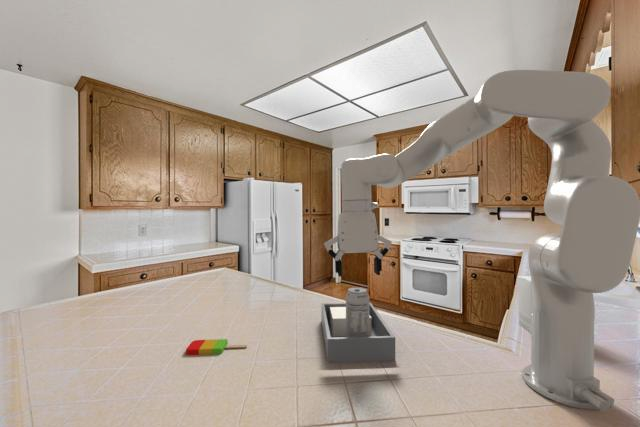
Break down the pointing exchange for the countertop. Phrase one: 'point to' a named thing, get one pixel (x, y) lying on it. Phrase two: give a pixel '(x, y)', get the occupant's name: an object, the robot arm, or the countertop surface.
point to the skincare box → (525, 301)
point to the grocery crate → (358, 340)
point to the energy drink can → (357, 312)
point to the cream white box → (340, 321)
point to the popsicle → (209, 347)
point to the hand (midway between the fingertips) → (358, 274)
